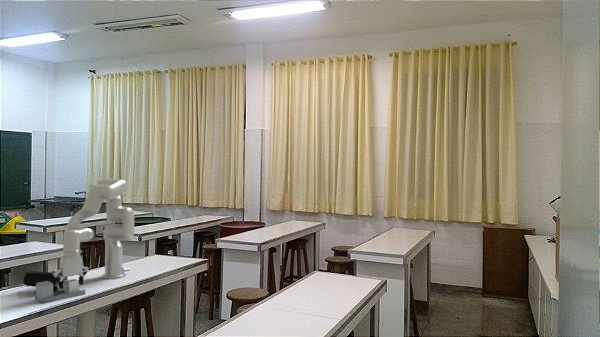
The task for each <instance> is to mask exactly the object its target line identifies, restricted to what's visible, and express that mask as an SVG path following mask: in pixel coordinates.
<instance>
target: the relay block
mask: <svg viewBox="0 0 600 337" xmlns="http://www.w3.org/2000/svg"><path fill="white" fill-rule="evenodd" d="M58 270H59V269H55V270H52V271H51V272H53V273H55V272H56V271H58ZM57 275H58V277H60V275H59V274H57ZM66 280H68V277H65V278H64V279H63V280H62V281H63V285H64V281H66ZM56 285H57V286H59V281H58V282H56Z"/></svg>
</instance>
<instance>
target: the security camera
mask: <svg viewBox="0 0 600 337" xmlns="http://www.w3.org/2000/svg"><path fill="white" fill-rule="evenodd" d="M57 276H58V275H57ZM44 281H49V282H51V283H53V291H57V290H60V288H59V286H58V284H56V282H58V280H57V279H55V277H54V276H53V272H52V271H51V272H49V271H35V270H34V271H33V270H31V271H28V272H25V274H24V275H23V284H24V285H25V286H26V287H36V283H39V282H44Z"/></svg>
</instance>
